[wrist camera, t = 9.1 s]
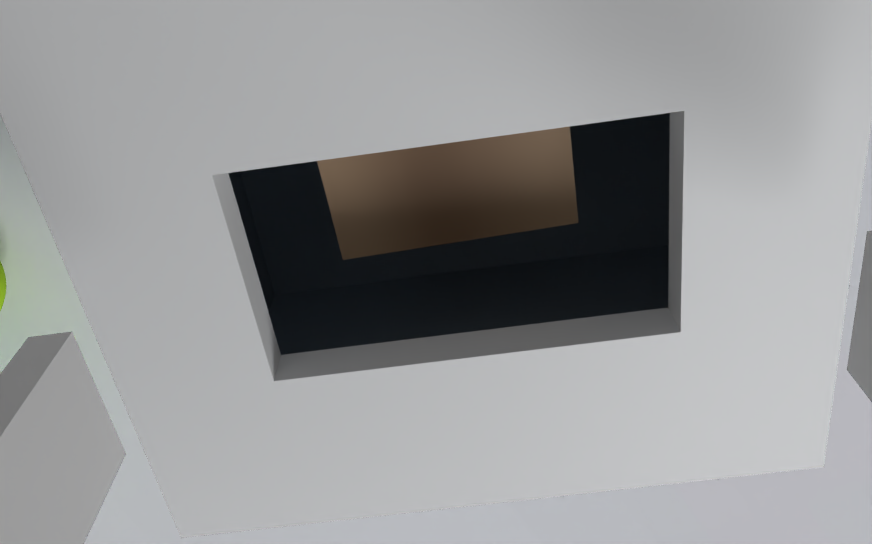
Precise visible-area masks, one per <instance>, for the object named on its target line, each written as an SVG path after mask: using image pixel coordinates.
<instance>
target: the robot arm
mask: <svg viewBox="0 0 872 544" xmlns="http://www.w3.org/2000/svg"><path fill="white" fill-rule="evenodd" d="M847 370H848V372H849V373H850V374H851V376H852V377H853V378H854V380H855V381H856V382H857V384H858V385H859V386H860V387H861V389H862V390H863V391H864V393H865V394H866V395H867V397H868V398H869V399H870V400H871V402H872V231H867V236H866V243H865V250H864V256H863V263H862V270H861V277H860V284H859V291H858V297H857V304H856V311H855V318H854V325H853V331H852V338H851V345H850V352H849V359H848V365H847ZM125 455H126V453H125V451H124V448H123V446H122V444H121V441H120V439H119V437H118V435H117V432H116V430H115V428H114V426H113V423H112V421H111V419H110V417H109V414H108V412H107V410H106V407H105V405H104V403H103V401H102V398H101V396H100V394H99V392H98V389H97V387H96V385H95V383H94V380H93V378H92V376H91V374H90V371H89V369H88V367H87V364H86V362H85V360H84V358H83V355H82V353H81V351H80V349H79V346H78V344H77V342H76V340H75V337H74V335H73V333H72V332H66V333H58V334H50V335H42V336H34V337H28V338H27V340H26V341H25V342H24V344H23V345H22V346H21V348H20V349H19V350H18V351H17V353H16V354H15V355H14V357H13V358H12V359H11V361H10V362H9V363H8V365H7V366H6V367H5V369H4V370H3V371H2V373H1V374H0V544H84V542H85V540H86V538H87V536H88V534H89V532H90V530H91V527H92V525H93V523H94V521H95V519H96V517H97V515H98V513H99V510H100V508H101V506H102V504H103V502H104V500H105V498H106V495H107V493H108V491H109V489H110V487H111V485H112V483H113V480H114V478H115V476H116V474H117V472H118V470H119V468H120V466H121V463H122V461H123V459H124V457H125Z"/></svg>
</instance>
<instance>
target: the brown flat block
mask: <svg viewBox="0 0 872 544" xmlns="http://www.w3.org/2000/svg"><path fill="white" fill-rule="evenodd" d="M317 163H318V167H319V170H320V174H321V178H322V182H323V186H324V190H325V193H326V197H327V201H328V205H329V209H330V213H331V216H332V220H333V224H334V228H335V232H336V235H337V239H338V243H339V247H340V251H341V255H342V258H343V260H346V259H353V258H359V257H366V256H372V255H378V254H385V253H391V252H397V251H404V250H410V249H416V248H423V247H429V246H435V245H442V244H448V243H455V242H461V241H467V240H474V239H480V238H486V237H493V236H499V235H505V234H512V233H518V232H524V231H531V230H537V229H543V228H550V227H556V226H563V225H569V224H575V223H578V212H577V201H576V190H575V178H574V167H573V156H572V145H571V134H570V126H569V127H562V128H555V129H547V130H540V131H533V132H525V133H518V134H511V135H503V136H496V137H489V138H481V139H474V140H467V141H459V142H452V143H445V144H437V145H430V146H423V147H415V148H408V149H401V150H393V151H386V152H379V153H371V154H364V155H357V156H349V157H342V158H335V159H327V160H320V161H317Z"/></svg>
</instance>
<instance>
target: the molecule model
mask: <svg viewBox="0 0 872 544" xmlns="http://www.w3.org/2000/svg"><path fill="white" fill-rule="evenodd" d="M5 294H6V278H5V273H4V269H3V266H2V264H1V262H0V310H1V308H2V306H3V303H4V299H5Z"/></svg>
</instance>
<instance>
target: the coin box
mask: <svg viewBox="0 0 872 544" xmlns="http://www.w3.org/2000/svg"><path fill="white" fill-rule="evenodd" d="M0 114H1V116H2V119H3V121H4V123H5V126H6V128H7V130H8V133H9V135H10V137H11V140H12V142H13V145H14V147H15V149H16V152H17V154H18V156H19V159H20V161H21V163H22V166H23V168H24V170H25V173H26V175H27V177H28V180H29V182H30V184H31V187H32V189H33V192H34V194H35V196H36V199H37V201H38V203H39V206H40V208H41V210H42V213H43V215H44V217H45V220H46V222H47V224H48V227H49V229H50V231H51V234H52V236H53V239H54V241H55V243H56V246H57V248H58V250H59V253H60V255H61V257H62V260H63V262H64V264H65V267H66V269H67V271H68V274H69V276H70V278H71V281H72V283H73V285H74V288H75V290H76V293H77V295H78V297H79V300H80V302H81V304H82V307H83V309H84V311H85V314H86V316H87V318H88V321H89V323H90V325H91V328H92V330H93V332H94V335H95V337H96V340H97V342H98V344H99V347H100V349H101V351H102V354H103V356H104V358H105V361H106V363H107V365H108V368H109V370H110V372H111V375H112V377H113V379H114V382H115V384H116V387H117V389H118V391H119V394H120V396H121V398H122V401H123V403H124V405H125V408H126V410H127V412H128V415H129V417H130V419H131V422H132V424H133V426H134V429H135V431H136V433H137V436H138V438H139V441H140V443H141V445H142V448H143V450H144V452H145V455H146V457H147V459H148V462H149V464H150V466H151V469H152V471H153V473H154V476H155V478H156V480H157V483H158V485H159V488H160V490H161V492H162V495H163V497H164V499H165V502H166V504H167V506H168V509H169V511H170V513H171V516H172V518H173V520H174V523H175V525H176V527H177V530H178V532H179V535H180V537H181V538H187V537H196V536H205V535H214V534H223V533H232V532H241V531H250V530H259V529H268V528H277V527H286V526H296V525H305V524H314V523H323V522H332V521H341V520H350V519H359V518H368V517H377V516H386V515H395V514H405V513H414V512H423V511H432V510H441V509H450V508H459V507H468V506H477V505H486V504H495V503H504V502H514V501H523V500H532V499H541V498H550V497H559V496H568V495H577V494H586V493H595V492H604V491H613V490H623V489H632V488H641V487H650V486H659V485H668V484H677V483H686V482H695V481H704V480H713V479H722V478H731V477H741V476H750V475H759V474H768V473H777V472H786V471H795V470H804V469H813V468H822V467H824V462H825V455H826V447H827V440H828V433H829V426H830V419H831V411H832V404H833V397H834V390H835V383H836V376H837V368H838V361H839V354H840V347H841V340H842V333H843V325H844V318H845V311H846V304H847V297H848V289H849V282H850V275H851V268H852V261H853V254H854V246H855V239H856V232H857V225H858V218H859V211H860V203H861V196H862V189H863V182H864V175H865V167H866V160H867V153H868V146H869V139H870V132H871V124H872V0H0ZM569 126H570V134H571V145H572V156H573V167H574V178H575V190H576V201H577V212H578V223H575V224H569V225H563V226H556V227H550V228H543V229H537V230H531V231H524V232H518V233H512V234H505V235H499V236H493V237H486V238H480V239H474V240H467V241H461V242H455V243H448V244H442V245H435V246H429V247H423V248H416V249H410V250H404V251H397V252H391V253H385V254H378V255H372V256H366V257H359V258H353V259H346V260H343V258H342V255H341V251H340V247H339V243H338V239H337V235H336V232H335V228H334V224H333V220H332V216H331V213H330V209H329V205H328V201H327V197H326V193H325V190H324V186H323V182H322V178H321V174H320V170H319V167H318V163H317V161H320V160H327V159H335V158H342V157H349V156H357V155H364V154H371V153H379V152H386V151H393V150H401V149H408V148H415V147H423V146H430V145H437V144H445V143H452V142H459V141H467V140H474V139H481V138H489V137H496V136H503V135H511V134H518V133H525V132H533V131H540V130H547V129H555V128H562V127H569Z"/></svg>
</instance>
